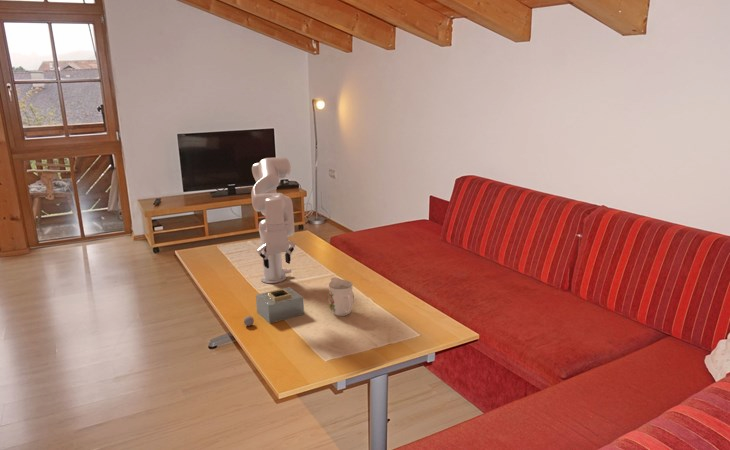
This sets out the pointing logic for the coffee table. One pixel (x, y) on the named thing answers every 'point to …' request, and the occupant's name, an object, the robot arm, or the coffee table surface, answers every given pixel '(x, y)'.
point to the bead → (248, 321)
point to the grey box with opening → (279, 304)
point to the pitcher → (340, 296)
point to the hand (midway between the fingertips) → (277, 265)
